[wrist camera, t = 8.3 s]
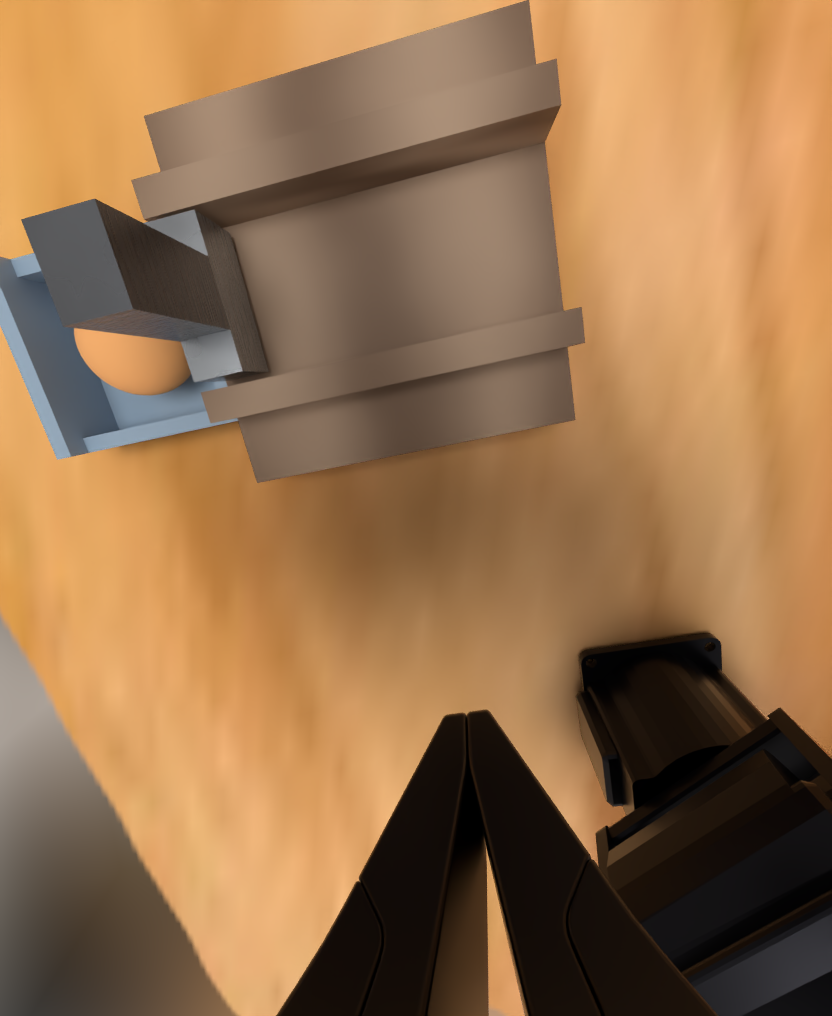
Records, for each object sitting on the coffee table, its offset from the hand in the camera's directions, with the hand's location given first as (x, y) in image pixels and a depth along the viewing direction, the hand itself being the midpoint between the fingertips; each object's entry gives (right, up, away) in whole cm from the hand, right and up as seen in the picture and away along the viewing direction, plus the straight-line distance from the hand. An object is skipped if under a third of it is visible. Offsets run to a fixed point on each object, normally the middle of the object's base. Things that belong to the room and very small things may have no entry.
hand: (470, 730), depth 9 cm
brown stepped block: (-2, +13, +10) cm, 16 cm away
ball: (-12, +11, +9) cm, 18 cm away
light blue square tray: (-12, +11, +11) cm, 20 cm away
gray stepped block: (-7, +11, +7) cm, 15 cm away
